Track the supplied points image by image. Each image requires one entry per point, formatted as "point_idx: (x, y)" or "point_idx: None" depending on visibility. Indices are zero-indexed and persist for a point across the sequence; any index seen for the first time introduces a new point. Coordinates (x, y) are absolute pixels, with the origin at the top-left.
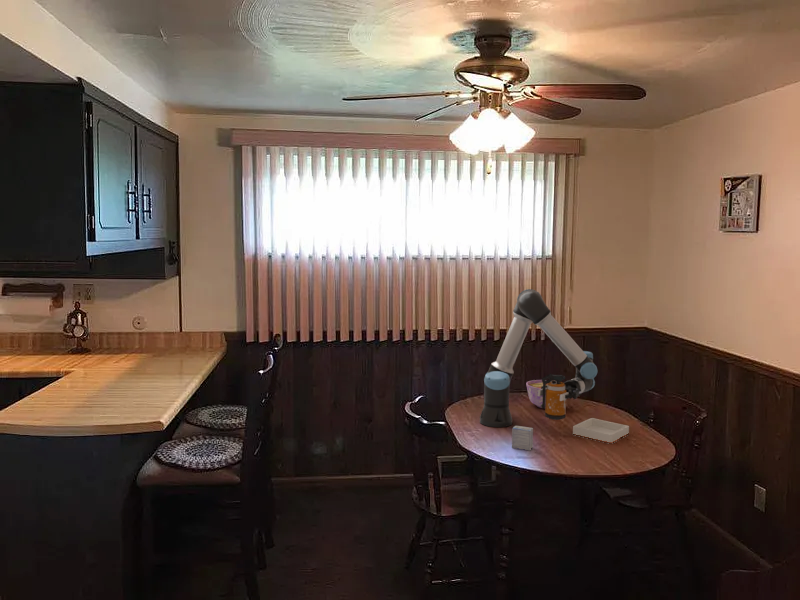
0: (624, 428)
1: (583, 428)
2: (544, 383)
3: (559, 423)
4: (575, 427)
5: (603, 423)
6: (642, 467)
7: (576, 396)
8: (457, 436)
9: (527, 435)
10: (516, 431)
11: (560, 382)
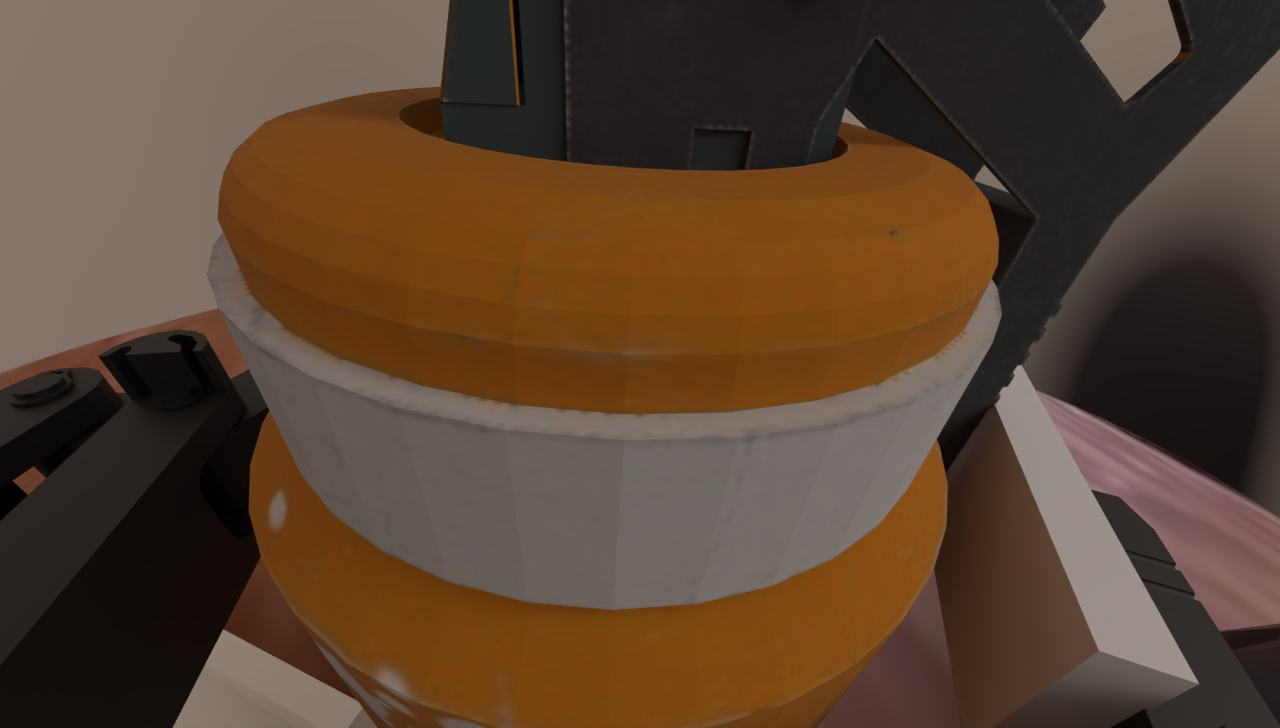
0: None
1: (257, 649)
2: (953, 142)
3: None
4: (342, 693)
5: None
6: (192, 320)
7: (5, 511)
8: (1070, 410)
9: None
10: None
11: (425, 137)
